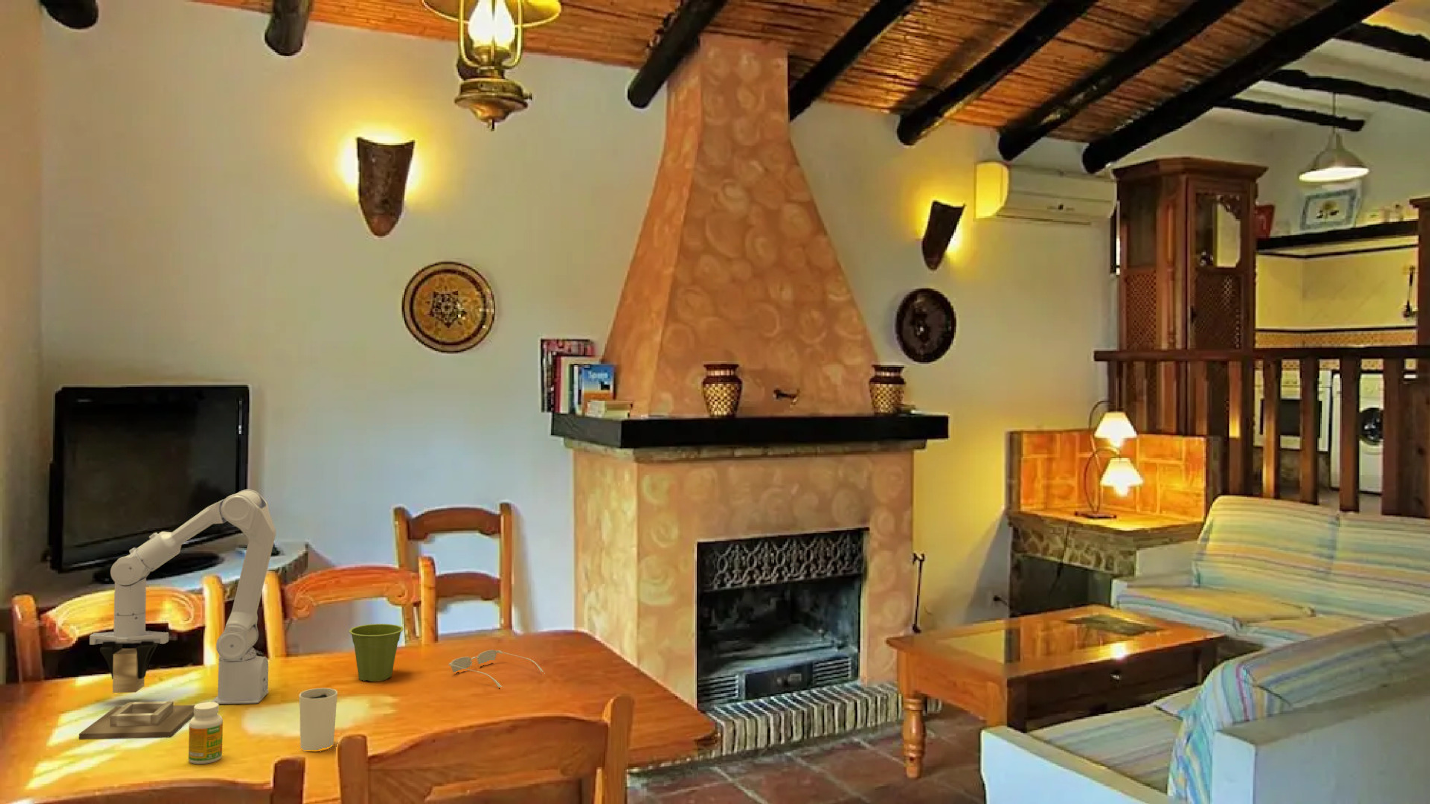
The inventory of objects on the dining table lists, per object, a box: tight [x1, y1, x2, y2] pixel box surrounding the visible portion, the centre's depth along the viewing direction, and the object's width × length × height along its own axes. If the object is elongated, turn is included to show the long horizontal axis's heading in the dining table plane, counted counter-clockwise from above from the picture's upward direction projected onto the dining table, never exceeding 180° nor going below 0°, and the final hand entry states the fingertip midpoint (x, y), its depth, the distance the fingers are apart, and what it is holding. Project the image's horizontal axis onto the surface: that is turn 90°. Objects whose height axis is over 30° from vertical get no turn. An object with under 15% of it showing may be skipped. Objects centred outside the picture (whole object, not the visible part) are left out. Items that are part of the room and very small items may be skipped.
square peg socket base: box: [78, 700, 196, 740], centre depth 198 cm, size 16×16×3 cm
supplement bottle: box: [187, 701, 224, 765], centre depth 181 cm, size 5×5×10 cm
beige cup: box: [298, 687, 338, 750], centre depth 189 cm, size 7×7×10 cm
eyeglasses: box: [448, 649, 544, 688], centre depth 237 cm, size 15×18×4 cm
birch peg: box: [112, 647, 145, 694], centre depth 210 cm, size 4×4×8 cm
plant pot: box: [348, 623, 404, 682], centre depth 232 cm, size 12×12×11 cm
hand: (128, 677), depth 210 cm, fingers closed on birch peg, 4 cm apart
